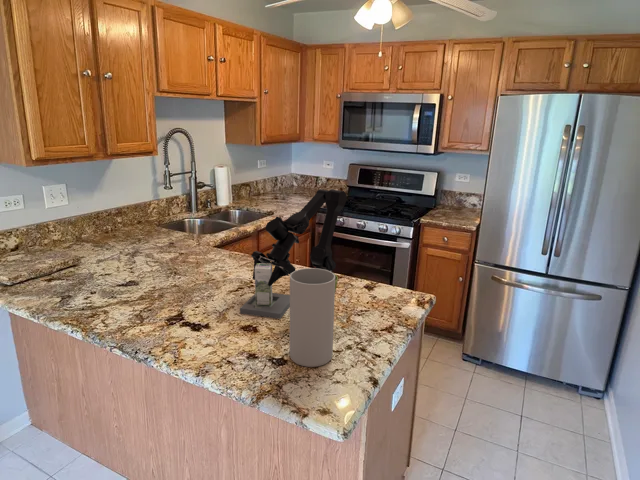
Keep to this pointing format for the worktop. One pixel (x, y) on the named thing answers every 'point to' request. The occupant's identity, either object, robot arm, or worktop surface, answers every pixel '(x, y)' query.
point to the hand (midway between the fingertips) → (261, 282)
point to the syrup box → (263, 284)
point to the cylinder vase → (311, 316)
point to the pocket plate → (267, 307)
